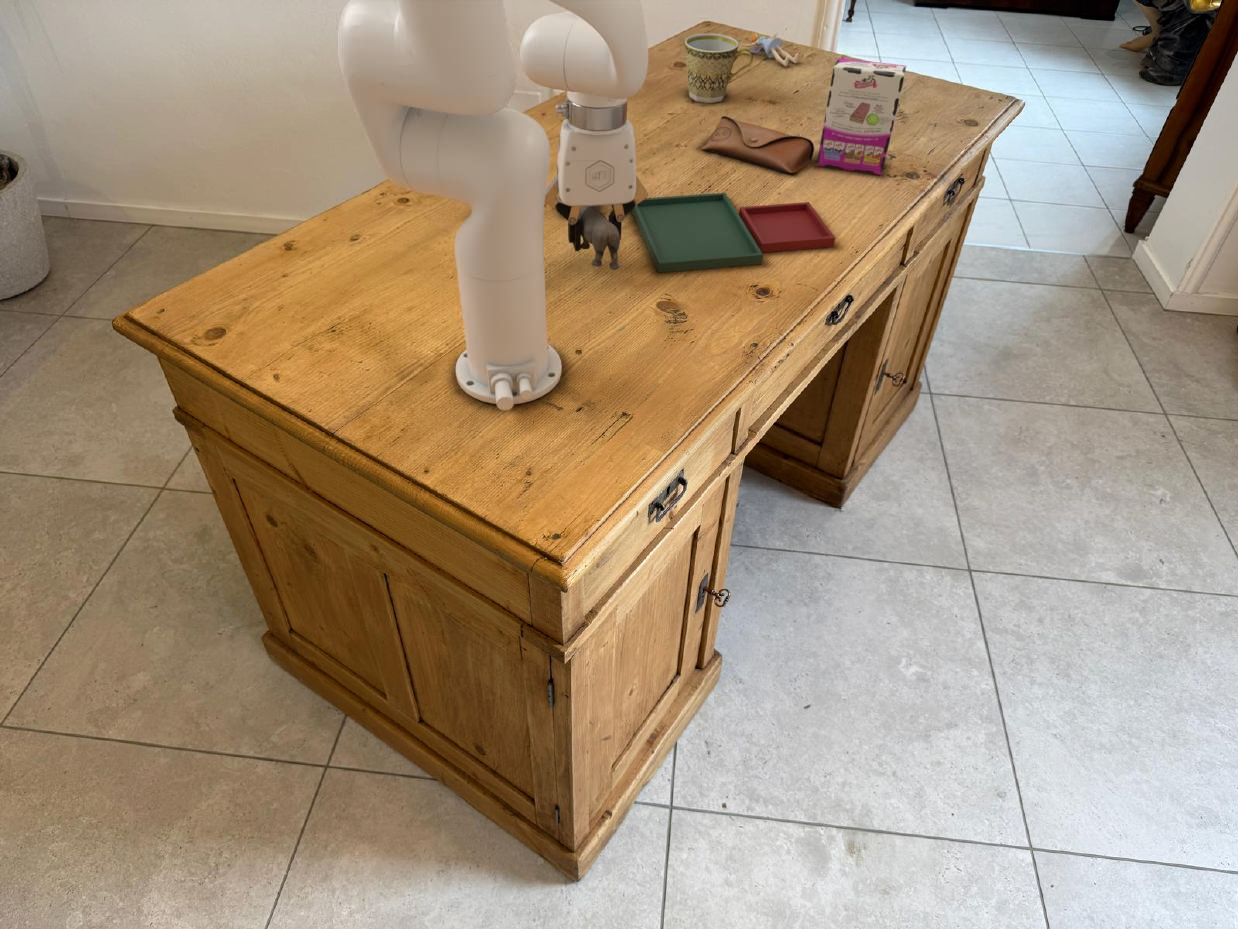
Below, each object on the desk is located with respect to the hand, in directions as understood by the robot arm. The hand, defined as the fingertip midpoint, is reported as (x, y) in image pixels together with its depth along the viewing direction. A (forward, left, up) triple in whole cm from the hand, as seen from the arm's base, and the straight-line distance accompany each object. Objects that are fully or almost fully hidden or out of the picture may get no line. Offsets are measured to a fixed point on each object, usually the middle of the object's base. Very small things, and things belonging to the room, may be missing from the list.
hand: (594, 244), depth 122 cm
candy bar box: (+25, -49, -3) cm, 55 cm away
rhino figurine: (0, 0, -1) cm, 1 cm away
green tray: (+6, -16, -3) cm, 17 cm away
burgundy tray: (+5, -30, -3) cm, 31 cm away
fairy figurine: (+77, -52, -3) cm, 93 cm away
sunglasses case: (+31, -34, -3) cm, 46 cm away
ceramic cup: (+57, -34, -3) cm, 66 cm away
